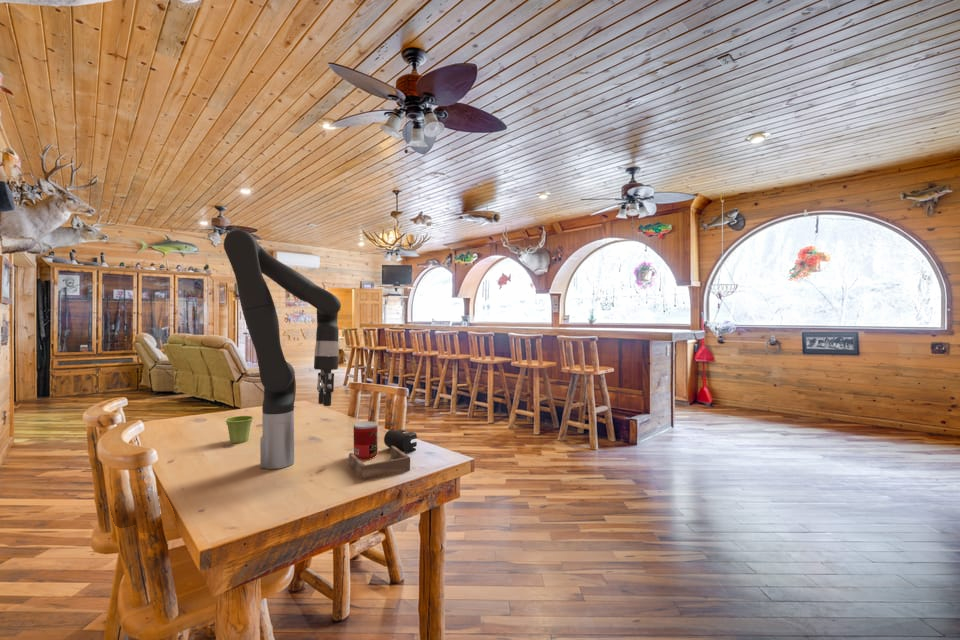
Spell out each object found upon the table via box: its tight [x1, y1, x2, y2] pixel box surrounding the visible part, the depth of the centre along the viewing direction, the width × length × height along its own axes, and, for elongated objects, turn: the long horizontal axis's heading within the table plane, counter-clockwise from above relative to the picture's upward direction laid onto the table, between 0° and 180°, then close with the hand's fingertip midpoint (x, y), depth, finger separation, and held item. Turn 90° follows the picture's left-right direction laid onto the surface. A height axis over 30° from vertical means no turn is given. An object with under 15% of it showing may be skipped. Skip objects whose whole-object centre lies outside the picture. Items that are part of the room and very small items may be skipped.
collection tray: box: [348, 446, 411, 481], centre depth 136 cm, size 14×15×4 cm
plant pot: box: [224, 415, 254, 444], centre depth 163 cm, size 9×9×9 cm
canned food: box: [353, 421, 378, 460], centre depth 147 cm, size 8×8×11 cm
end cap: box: [383, 429, 418, 454], centre depth 153 cm, size 10×7×7 cm
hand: (324, 404), depth 140 cm, fingers open, 8 cm apart
